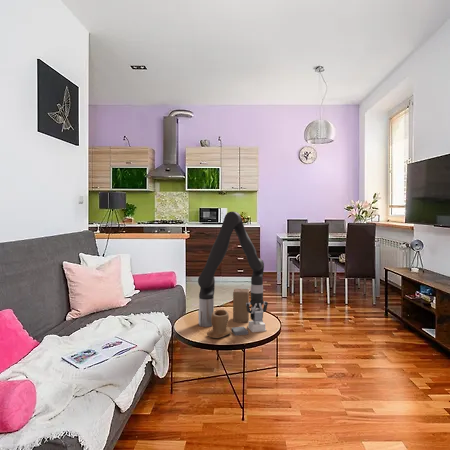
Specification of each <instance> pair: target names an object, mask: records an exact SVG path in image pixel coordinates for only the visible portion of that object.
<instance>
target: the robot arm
mask: <svg viewBox="0 0 450 450" xmlns="http://www.w3.org/2000/svg"><path fill="white" fill-rule="evenodd" d="M221 224H222V225H221V226H220V227H221V228H220V230H219V233H218V234H217V236H216V238H215V241H214V243H213V245H212V247H211V250H210V252H209V254H208V257H207V260H206V263H205V266H204V268H203V270H202V271H201V272H200V275H199V276H198V279H197V284H198V286H199V288H200V290H199V293H198V326H199V327H204V328H208V327H212V323H211V315H212V313H213V312H214V311H215V307H214V306H215V305H214V304H215V302H214V301H215V299H214V298H215V297H214V296H215V284H216V282H215V273H216V272H217V269H218V268H219V266H220V265H221V263H222V262H223V259H224V258H225V256H226V254H227V251H228V249H229V245H230V239H231V236H232V234H233V231H234V232H235V234H236V236H237V237H238V241H239V244H240V247H241V248H242V251H243V252H244V255H245V257H246V259H247V263H248V265H249V267H250V269H251V270H252V274H251V277H250V279H251V280H250V300H249V303H246V307H247V311H248V312H249V319H250V320H251V319H252V320H251V321H253V313H254V310H255V308H259V309H261V310H263V313H266V312H267V309H268V305H269V303H268V301H266V300H264V285H263V283H264V280H263V279H264V276H263V275H264V269H265V263H264V261H263V259H262V258H259V257H258V255H257V254H258V253H257V249H256V247H255V246H254V243H253V242H252V240H251V238H250V236H249V234H248V233H247V230H246V227H245V225H244V223H243V219H242V216H241V214H240V213H239V212H237V211H228V212H227V213H226V214H225V216H224V218H223V221H222V223H221ZM250 306H251V307H250Z"/></svg>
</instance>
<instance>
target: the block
mask: <svg viewBox="0 0 450 450" xmlns="http://www.w3.org/2000/svg"><path fill="white" fill-rule="evenodd" d="M249 302H250V290H249V288H234V289H233V292H232V321H233V322H234V323H249V321H250V313H249V312H248V311H247V307H246V303H249Z"/></svg>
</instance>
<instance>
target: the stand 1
mask: <svg viewBox="0 0 450 450" xmlns="http://www.w3.org/2000/svg"><path fill="white" fill-rule="evenodd" d="M230 330H231V331H232V334H233V335H234V336H244V335H245V336H246V335H249V330H248V328H246V327H245V326H235V327H230Z"/></svg>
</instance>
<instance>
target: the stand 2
mask: <svg viewBox="0 0 450 450" xmlns="http://www.w3.org/2000/svg"><path fill="white" fill-rule="evenodd" d="M246 327H247V329H249V330H250V332H252V333H258V332H259V333H260V332H267V329H266V323H265V322H264V321H263V322H259V323H255V322H254V321H253V320H249V321H248V326H246Z"/></svg>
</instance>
